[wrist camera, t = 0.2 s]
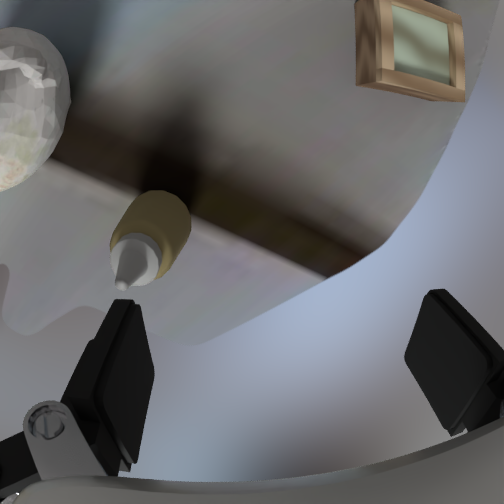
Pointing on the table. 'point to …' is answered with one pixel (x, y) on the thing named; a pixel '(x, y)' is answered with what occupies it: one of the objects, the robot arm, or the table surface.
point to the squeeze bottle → (148, 238)
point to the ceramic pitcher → (29, 102)
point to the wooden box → (410, 49)
